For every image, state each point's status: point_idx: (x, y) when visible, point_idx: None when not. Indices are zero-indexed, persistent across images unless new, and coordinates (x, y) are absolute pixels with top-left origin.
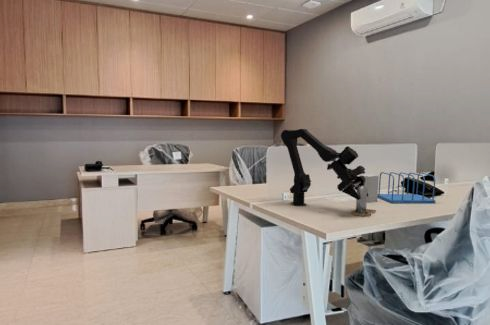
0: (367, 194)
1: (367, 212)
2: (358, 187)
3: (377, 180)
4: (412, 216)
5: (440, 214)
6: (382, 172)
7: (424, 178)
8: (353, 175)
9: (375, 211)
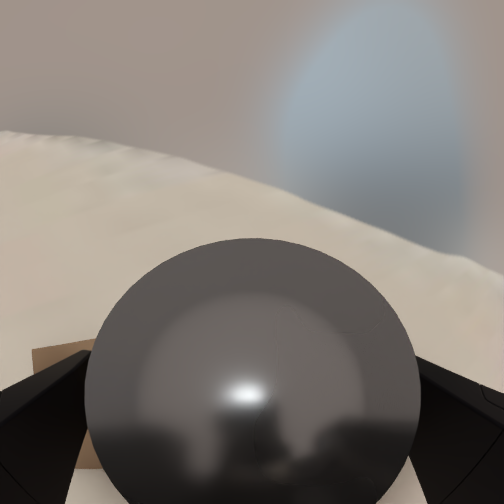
0: (84, 360)
1: None
2: (398, 436)
3: None
4: (64, 175)
5: (8, 139)
6: None
7: None
8: None
9: (68, 343)
